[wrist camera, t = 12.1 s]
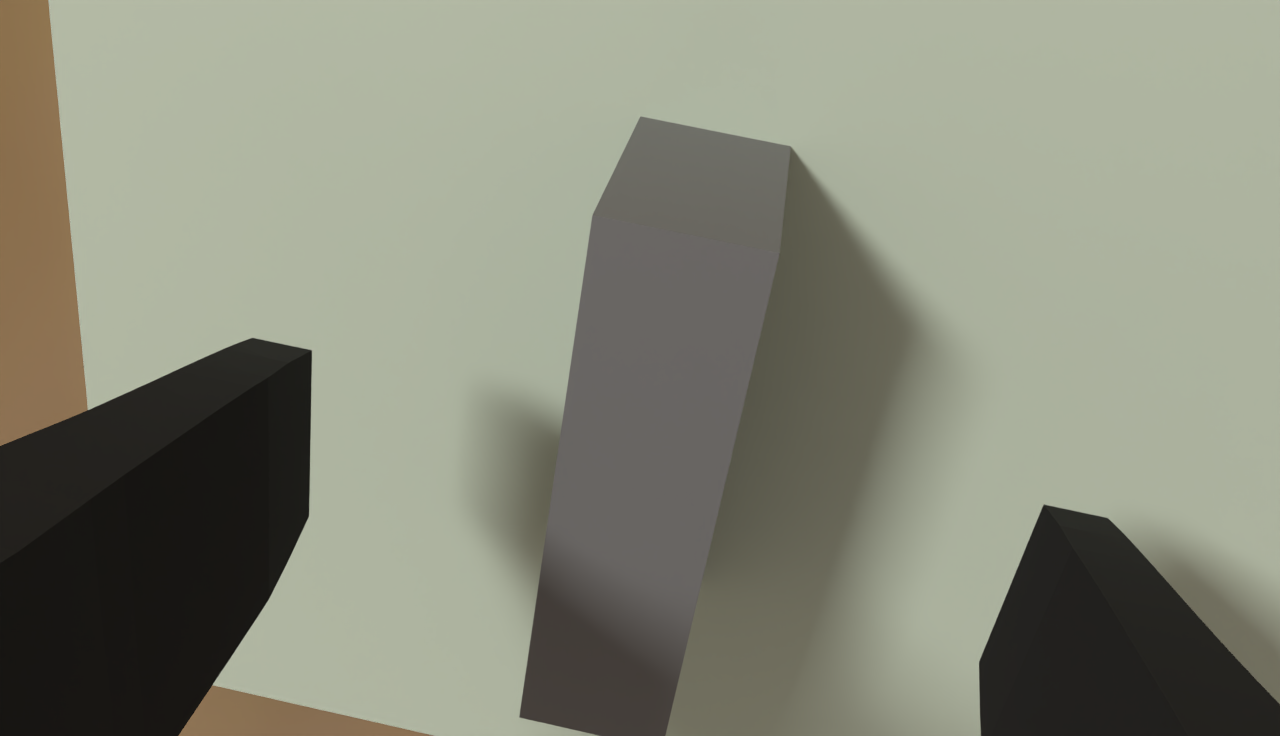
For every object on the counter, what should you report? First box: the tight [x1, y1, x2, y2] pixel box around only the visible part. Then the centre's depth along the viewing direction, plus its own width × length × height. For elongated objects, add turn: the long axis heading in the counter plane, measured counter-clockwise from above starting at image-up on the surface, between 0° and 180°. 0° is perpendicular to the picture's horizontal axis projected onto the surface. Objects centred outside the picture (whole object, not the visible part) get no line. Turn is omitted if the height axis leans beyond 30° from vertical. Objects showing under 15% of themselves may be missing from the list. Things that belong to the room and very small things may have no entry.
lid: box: [48, 0, 1280, 736], centre depth 13 cm, size 14×19×4 cm
